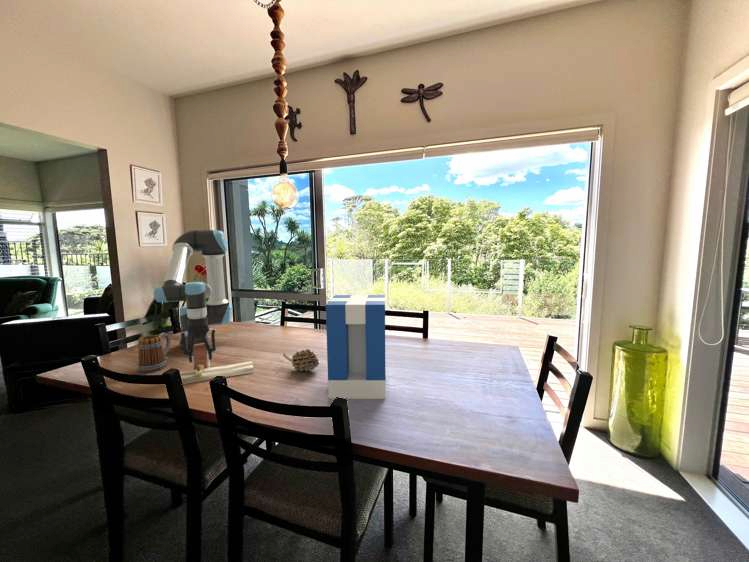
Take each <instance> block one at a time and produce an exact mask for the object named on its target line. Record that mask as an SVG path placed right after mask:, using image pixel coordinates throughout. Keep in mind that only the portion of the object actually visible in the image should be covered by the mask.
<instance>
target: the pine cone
mask: <svg viewBox="0 0 749 562" xmlns="http://www.w3.org/2000/svg"><path fill="white" fill-rule="evenodd" d="M282 355H283V358H285V359H286V360H288V361H289V362H291V364H292V367H293V368H294V370H296V371H298V370H299V371H300V372H304V371H305V372H308V371H314V370H315V368H317V367H318V366H319V365H320V363H319V361H320V360H319V358H318V357H317V356H318V354H316V353H314V350H313V351H311V349H309V348H307V349H306V350H305V349H303V350H301V351H297V352H296V353H295V354H293V355H292V357H290V356H288V355H287V353H285V352H283V353H282Z"/></svg>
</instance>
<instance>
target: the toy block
mask: <svg viewBox="0 0 749 562" xmlns="http://www.w3.org/2000/svg"><path fill="white" fill-rule="evenodd" d="M325 320H326V321H325V325H326V328H325V330H326V356H327V357H326V358H327V386H328V387H327V388H328V389H327V391H328V399H337V398H336V397H341V398H347V400H348V399H355V400H356V399H361V400H362V399H364V400H365V399H366V400H372V399H373V400H378V399H379V400H380V399H381V400H382V399H383V400H385V399H386V398H387V397H386V395H387V392H386V390H387V388H386V380H387V379H386V377H387V376H386V295H385V294H335V295H333V297H332V298H331V299H330V300H329V301H328V302H327V303H325Z"/></svg>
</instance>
